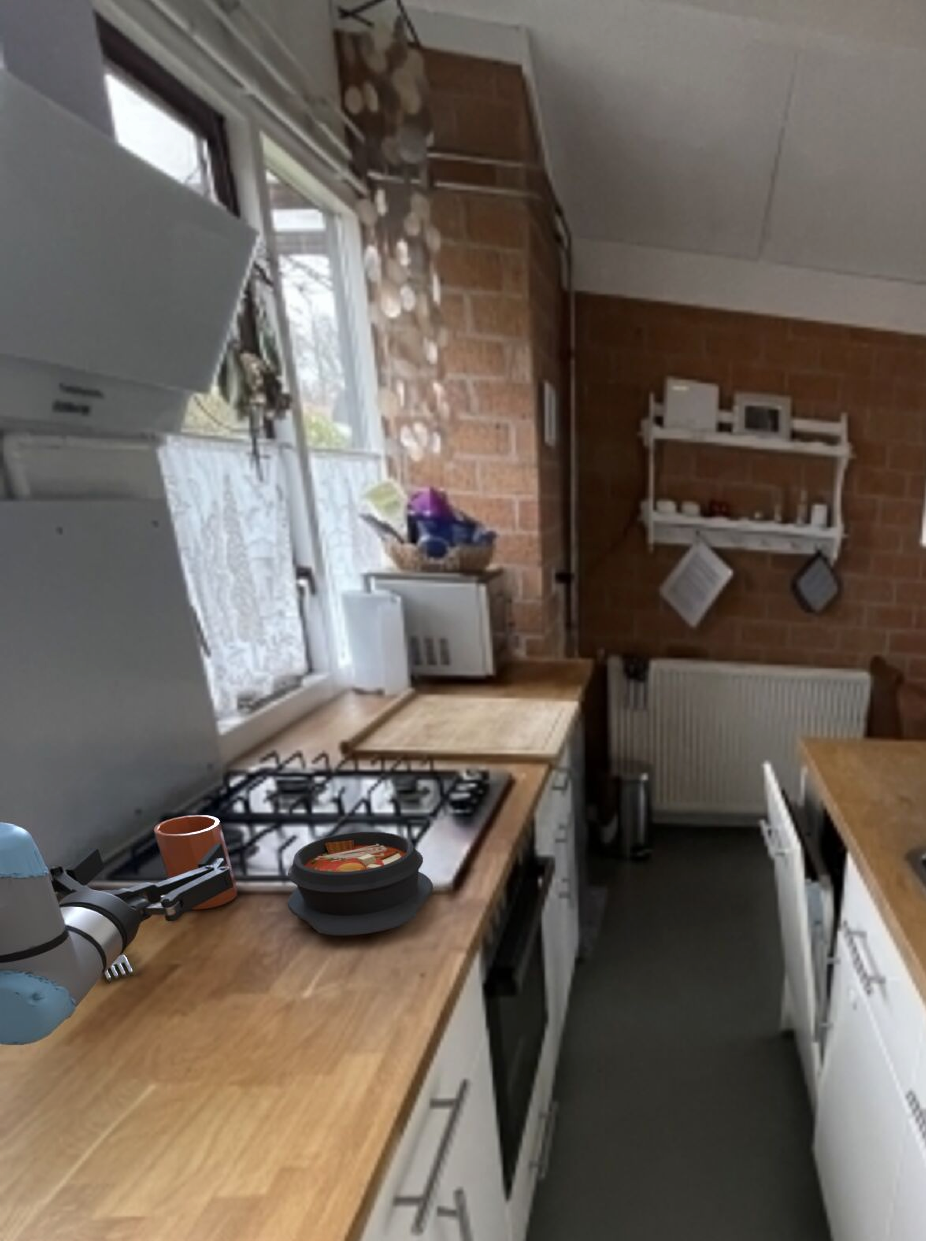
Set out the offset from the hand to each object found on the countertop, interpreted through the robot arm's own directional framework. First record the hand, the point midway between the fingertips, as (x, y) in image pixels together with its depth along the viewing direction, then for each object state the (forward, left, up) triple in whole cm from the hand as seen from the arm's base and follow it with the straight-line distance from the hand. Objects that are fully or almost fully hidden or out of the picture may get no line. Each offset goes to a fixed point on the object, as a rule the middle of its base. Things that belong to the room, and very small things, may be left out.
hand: (160, 855), depth 109 cm
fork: (0, -8, -11) cm, 14 cm away
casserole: (+6, +21, -11) cm, 24 cm away
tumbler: (-8, +5, -11) cm, 15 cm away
